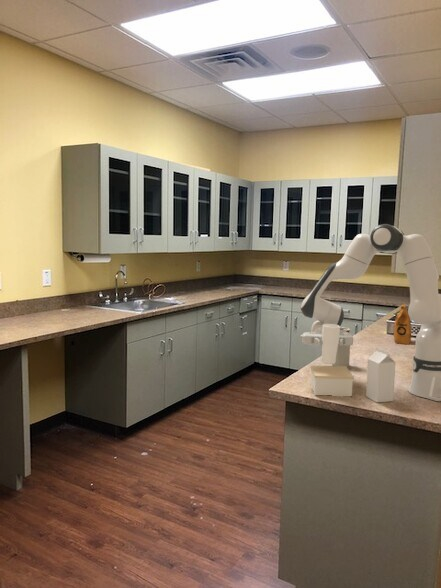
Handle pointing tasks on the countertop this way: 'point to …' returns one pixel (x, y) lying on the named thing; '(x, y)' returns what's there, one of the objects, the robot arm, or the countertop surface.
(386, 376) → the milk carton
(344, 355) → the travel mug
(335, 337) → the white ceramic cup
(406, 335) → the coffee package
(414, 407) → the countertop surface
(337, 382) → the painted box
